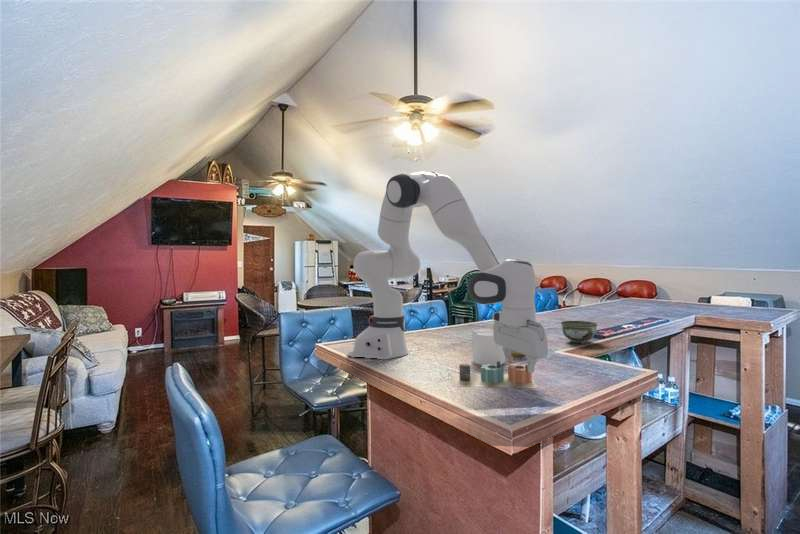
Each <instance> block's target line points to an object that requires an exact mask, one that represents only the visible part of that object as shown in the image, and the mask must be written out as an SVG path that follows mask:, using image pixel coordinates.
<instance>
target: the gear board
mask: <svg viewBox="0 0 800 534" xmlns="http://www.w3.org/2000/svg"><path fill="white" fill-rule="evenodd" d="M522 365H523V364H518V365H517V368H518V369H523V366H522ZM458 368H459V372H452V373H451V375H452V376H451V379H452V387H461V388H462V387H463V388H464V387H467V388H473V387H474V388H515V389H516V388H517V389H518V388H523V389H529V388H530V389H539V387H538V385H536V383H535V381H534V380H533V379H532V381H531V383H525V384H521V383H513V382H512V381H509V380H508V373H504V380H503V382H498V383H490V382H489V383H486V382H485V381H481V372H480V373H479V372H478V373H477V372H476V373H473V372H471V365H470V364H468V363H461V364H459V367H458ZM489 368H495V365H489Z"/></svg>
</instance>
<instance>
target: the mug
mask: <svg viewBox="0 0 800 534" xmlns="http://www.w3.org/2000/svg"><path fill="white" fill-rule="evenodd" d="M471 337H472V339H471V340H472V363H474V364H476V365H487V364H491V365H497V361H499V362H500V366H502V365H503V364H505V356H504V353H503V350H502V346H500V345H498V344H496V343H495V341H494V336H493V329H479V330H474V331H472V336H471Z"/></svg>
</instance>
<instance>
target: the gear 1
mask: <svg viewBox="0 0 800 534" xmlns="http://www.w3.org/2000/svg"><path fill="white" fill-rule="evenodd" d="M489 365H491V364H487V365H481V366H480V373H481V381H485V382H486V383H489V382H490V383H498V382H503V380H504V374H505V373H504V366H502V365H500V362H499V361H497V365H495V368H489Z"/></svg>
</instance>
